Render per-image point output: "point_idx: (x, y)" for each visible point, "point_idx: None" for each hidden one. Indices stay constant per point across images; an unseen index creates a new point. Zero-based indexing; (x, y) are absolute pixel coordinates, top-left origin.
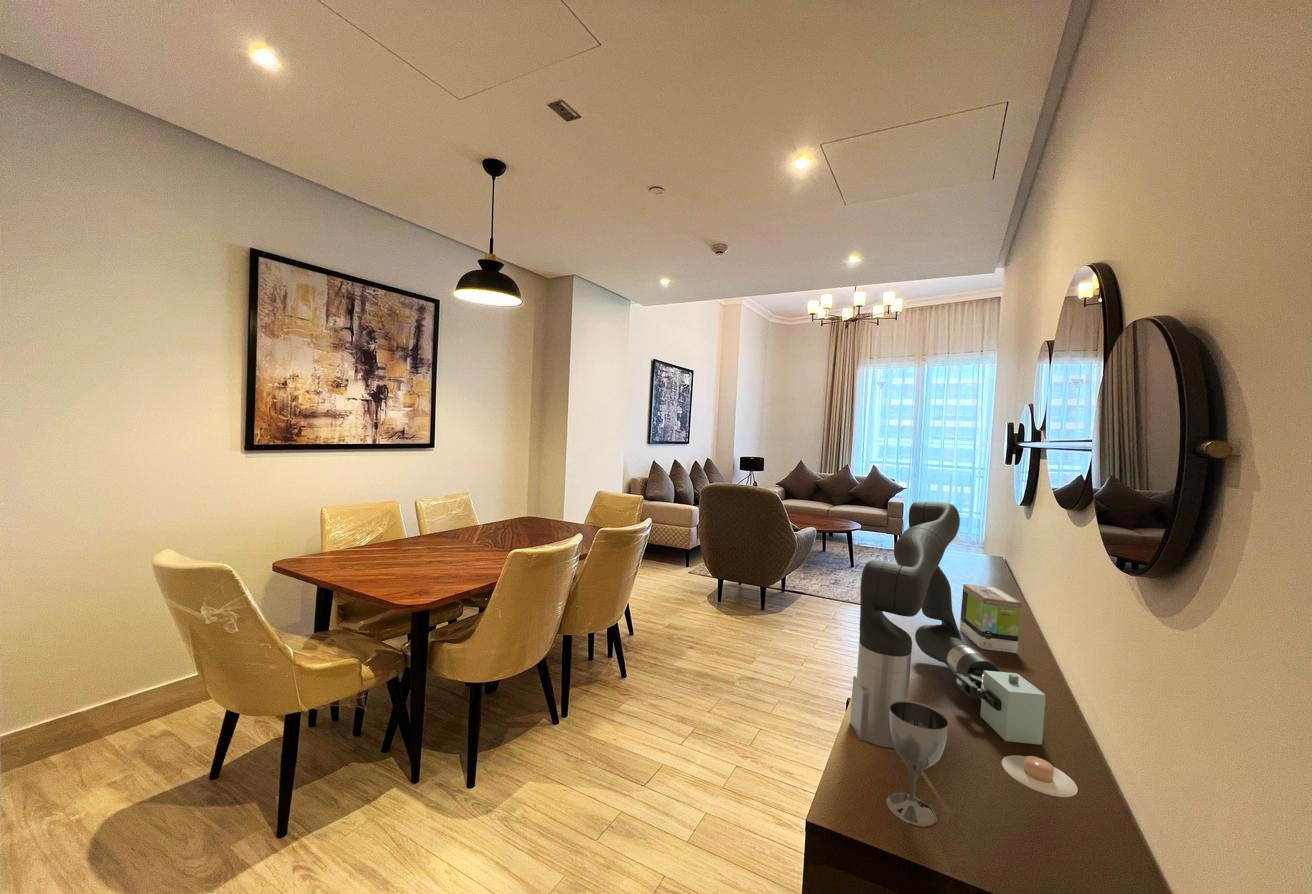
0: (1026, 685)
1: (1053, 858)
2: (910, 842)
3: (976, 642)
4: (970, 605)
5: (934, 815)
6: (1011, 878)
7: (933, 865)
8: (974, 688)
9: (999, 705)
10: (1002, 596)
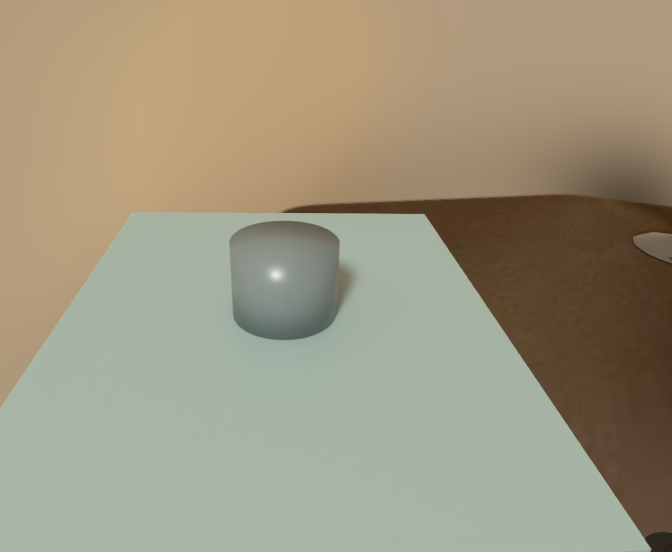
0: (172, 283)
1: (439, 216)
2: (664, 216)
3: None
4: None
5: (640, 241)
6: (516, 198)
7: (622, 202)
8: (669, 542)
9: None
10: None
